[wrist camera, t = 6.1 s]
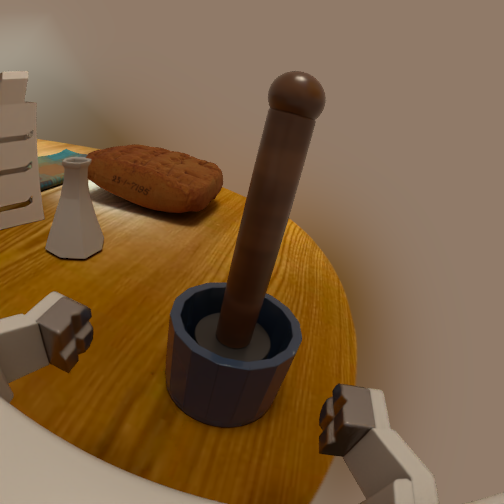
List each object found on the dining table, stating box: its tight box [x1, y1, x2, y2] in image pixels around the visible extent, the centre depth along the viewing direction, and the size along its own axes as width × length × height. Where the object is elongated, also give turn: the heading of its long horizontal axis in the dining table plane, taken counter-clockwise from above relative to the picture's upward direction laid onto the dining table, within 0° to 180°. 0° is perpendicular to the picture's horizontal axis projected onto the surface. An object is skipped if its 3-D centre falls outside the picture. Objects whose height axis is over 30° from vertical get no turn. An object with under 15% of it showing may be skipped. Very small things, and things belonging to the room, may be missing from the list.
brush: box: [193, 71, 325, 362], centre depth 16 cm, size 5×5×19 cm
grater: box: [0, 71, 44, 230], centre depth 28 cm, size 10×10×20 cm
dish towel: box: [28, 149, 87, 191], centre depth 52 cm, size 17×23×2 cm
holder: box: [165, 283, 302, 427], centre depth 19 cm, size 8×8×6 cm
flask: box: [45, 157, 104, 259], centre depth 29 cm, size 7×7×10 cm
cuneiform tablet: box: [86, 144, 223, 213], centre depth 48 cm, size 22×17×8 cm
